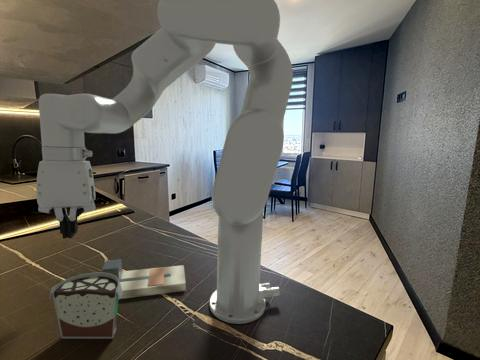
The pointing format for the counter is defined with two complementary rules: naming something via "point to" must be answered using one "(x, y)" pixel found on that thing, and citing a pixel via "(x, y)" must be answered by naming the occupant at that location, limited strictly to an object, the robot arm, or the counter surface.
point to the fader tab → (113, 268)
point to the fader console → (152, 281)
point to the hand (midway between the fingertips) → (69, 236)
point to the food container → (87, 305)
